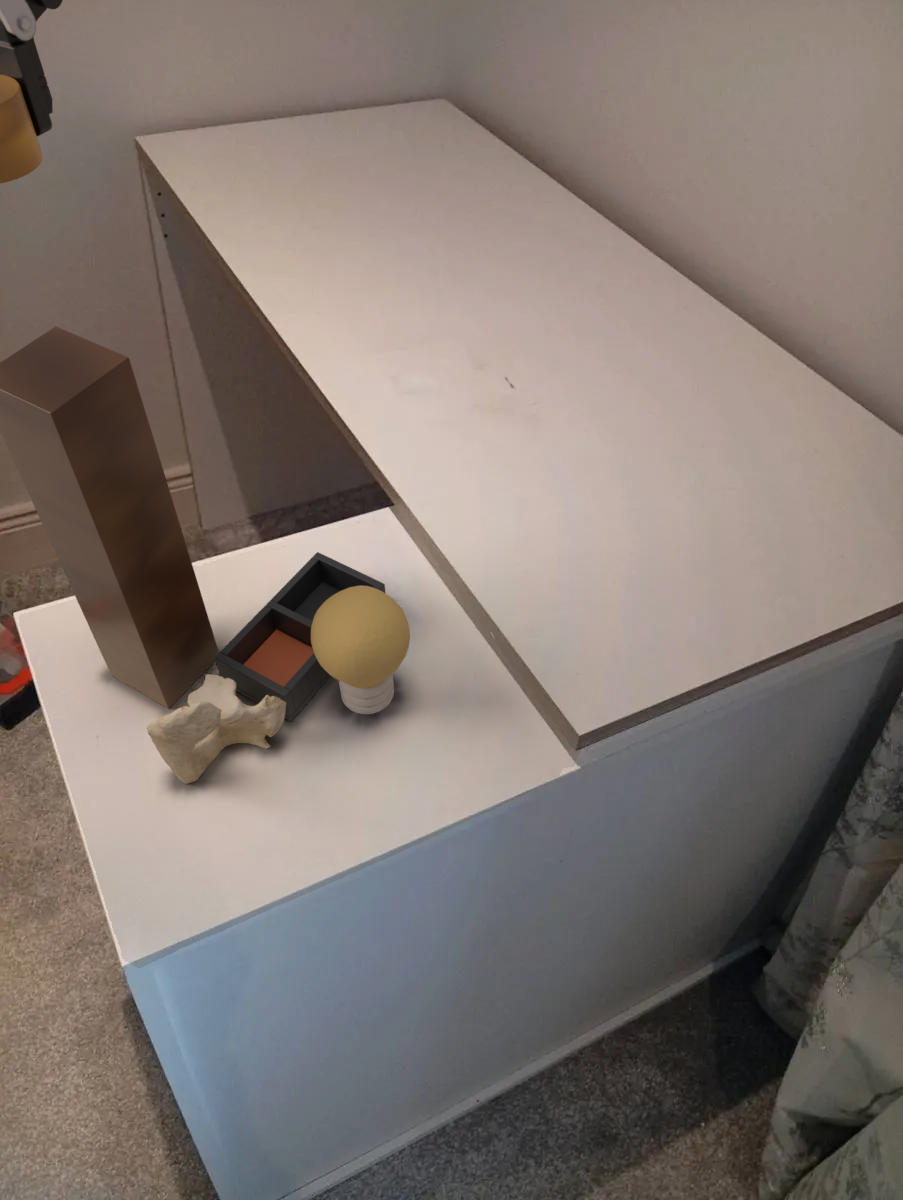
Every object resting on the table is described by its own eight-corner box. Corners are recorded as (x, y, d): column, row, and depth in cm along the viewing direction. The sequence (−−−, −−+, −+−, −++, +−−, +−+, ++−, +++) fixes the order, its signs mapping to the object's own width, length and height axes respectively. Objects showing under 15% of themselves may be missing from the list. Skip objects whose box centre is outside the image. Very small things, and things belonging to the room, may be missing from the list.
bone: (270, 657, 69) (262, 638, 60) (301, 743, 69) (298, 737, 59) (151, 699, 68) (123, 687, 58) (181, 788, 67) (158, 790, 57)
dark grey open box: (291, 722, 68) (285, 696, 65) (222, 683, 70) (213, 657, 67) (387, 610, 74) (385, 583, 72) (321, 578, 76) (317, 551, 74)
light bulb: (360, 751, 66) (347, 662, 58) (304, 693, 69) (285, 601, 62) (431, 700, 69) (428, 608, 61) (375, 646, 72) (365, 552, 64)
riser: (168, 709, 68) (50, 413, 49) (111, 676, 70) (-25, 378, 51) (220, 656, 71) (129, 357, 52) (164, 625, 73) (55, 325, 54)
